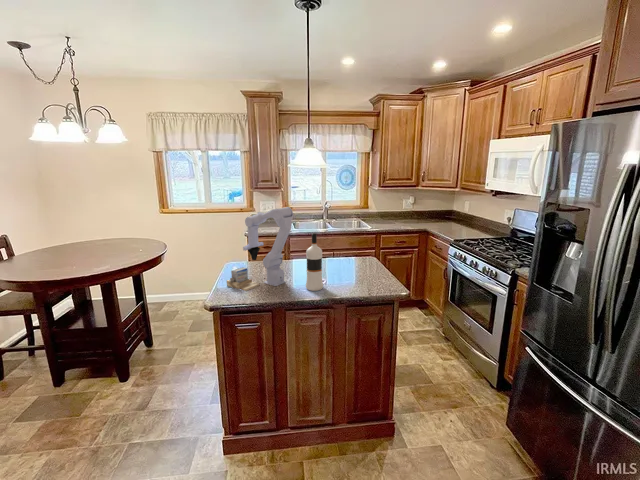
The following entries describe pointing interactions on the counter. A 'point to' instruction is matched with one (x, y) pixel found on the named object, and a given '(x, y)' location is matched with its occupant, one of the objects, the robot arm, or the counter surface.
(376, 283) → the counter surface
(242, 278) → the medicine box
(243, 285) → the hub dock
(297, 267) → the counter surface
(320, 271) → the vodka
